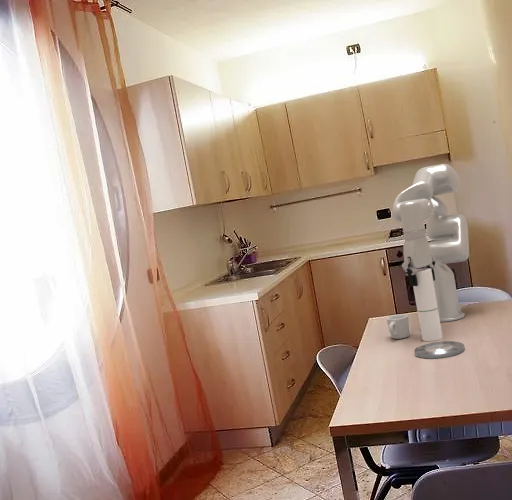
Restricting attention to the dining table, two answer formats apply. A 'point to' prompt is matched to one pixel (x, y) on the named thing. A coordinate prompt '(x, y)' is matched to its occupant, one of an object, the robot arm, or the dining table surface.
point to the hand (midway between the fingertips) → (422, 283)
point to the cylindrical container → (427, 306)
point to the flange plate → (439, 350)
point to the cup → (398, 326)
